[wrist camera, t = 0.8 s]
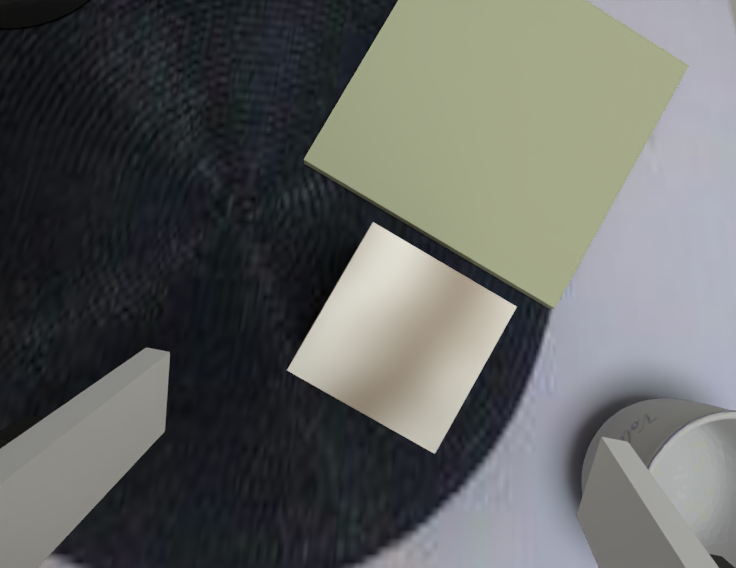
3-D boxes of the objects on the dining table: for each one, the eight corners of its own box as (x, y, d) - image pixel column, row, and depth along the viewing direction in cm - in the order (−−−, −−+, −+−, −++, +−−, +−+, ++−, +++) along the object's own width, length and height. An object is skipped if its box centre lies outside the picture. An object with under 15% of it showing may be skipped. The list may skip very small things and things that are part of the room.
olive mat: (304, 163, 32) (303, 159, 31) (446, -75, 33) (449, -87, 32) (548, 307, 33) (554, 308, 32) (678, 72, 34) (688, 65, 33)
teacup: (572, 374, 33) (650, 400, 25) (729, 396, 34) (854, 428, 26) (544, 592, 32) (614, 689, 25) (704, 609, 33) (822, 708, 25)
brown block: (301, 344, 32) (286, 370, 21) (357, 246, 32) (373, 221, 21) (398, 399, 32) (434, 453, 21) (453, 302, 32) (516, 306, 21)
